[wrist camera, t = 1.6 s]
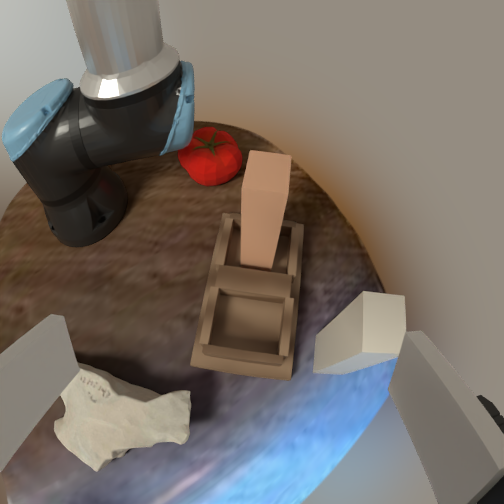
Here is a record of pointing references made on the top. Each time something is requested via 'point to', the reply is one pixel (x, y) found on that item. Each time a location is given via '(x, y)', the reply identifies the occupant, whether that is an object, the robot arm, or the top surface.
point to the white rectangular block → (362, 334)
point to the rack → (250, 307)
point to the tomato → (211, 157)
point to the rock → (118, 417)
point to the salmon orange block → (263, 207)
